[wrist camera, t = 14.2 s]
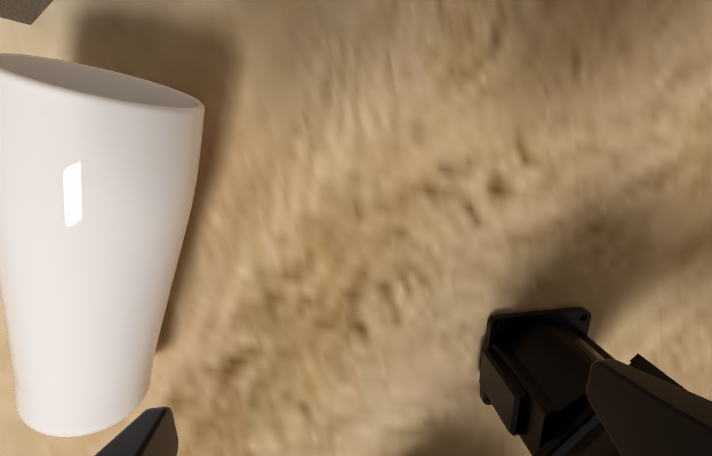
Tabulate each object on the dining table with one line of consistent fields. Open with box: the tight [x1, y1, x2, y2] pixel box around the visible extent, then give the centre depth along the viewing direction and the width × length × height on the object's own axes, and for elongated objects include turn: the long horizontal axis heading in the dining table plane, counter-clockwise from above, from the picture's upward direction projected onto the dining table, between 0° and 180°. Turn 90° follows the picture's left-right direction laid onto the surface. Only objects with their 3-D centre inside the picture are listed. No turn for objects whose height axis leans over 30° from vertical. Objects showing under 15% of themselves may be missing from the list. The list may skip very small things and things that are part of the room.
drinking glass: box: [0, 53, 205, 437], centre depth 16 cm, size 7×7×15 cm
